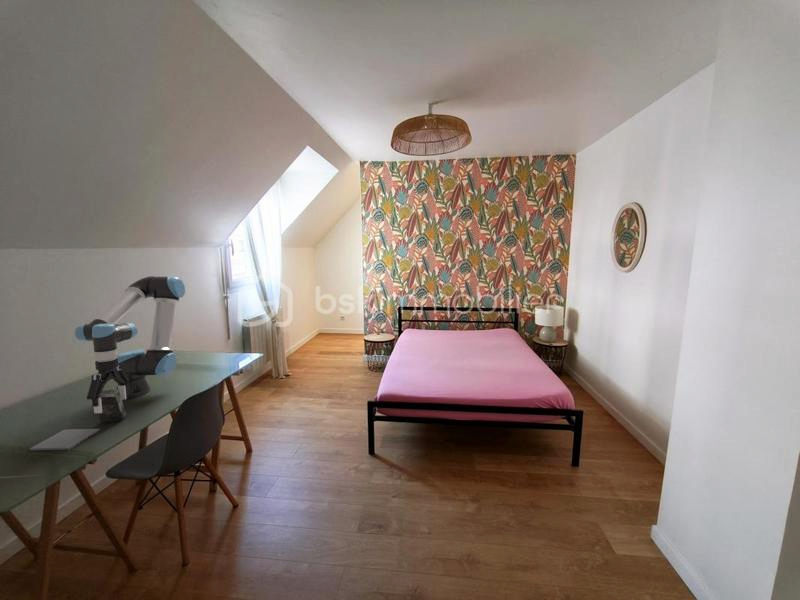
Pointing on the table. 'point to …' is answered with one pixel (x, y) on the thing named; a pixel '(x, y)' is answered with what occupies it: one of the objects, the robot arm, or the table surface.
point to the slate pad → (65, 439)
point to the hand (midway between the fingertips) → (111, 405)
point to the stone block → (111, 406)
